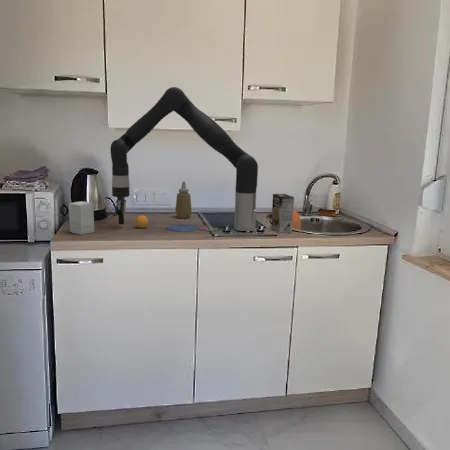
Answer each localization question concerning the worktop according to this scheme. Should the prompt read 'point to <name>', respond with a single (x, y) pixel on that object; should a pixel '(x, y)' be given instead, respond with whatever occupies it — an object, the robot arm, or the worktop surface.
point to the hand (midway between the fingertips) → (121, 224)
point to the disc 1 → (182, 228)
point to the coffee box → (282, 212)
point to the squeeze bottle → (183, 203)
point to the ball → (141, 221)
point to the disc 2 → (203, 228)
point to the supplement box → (81, 217)
